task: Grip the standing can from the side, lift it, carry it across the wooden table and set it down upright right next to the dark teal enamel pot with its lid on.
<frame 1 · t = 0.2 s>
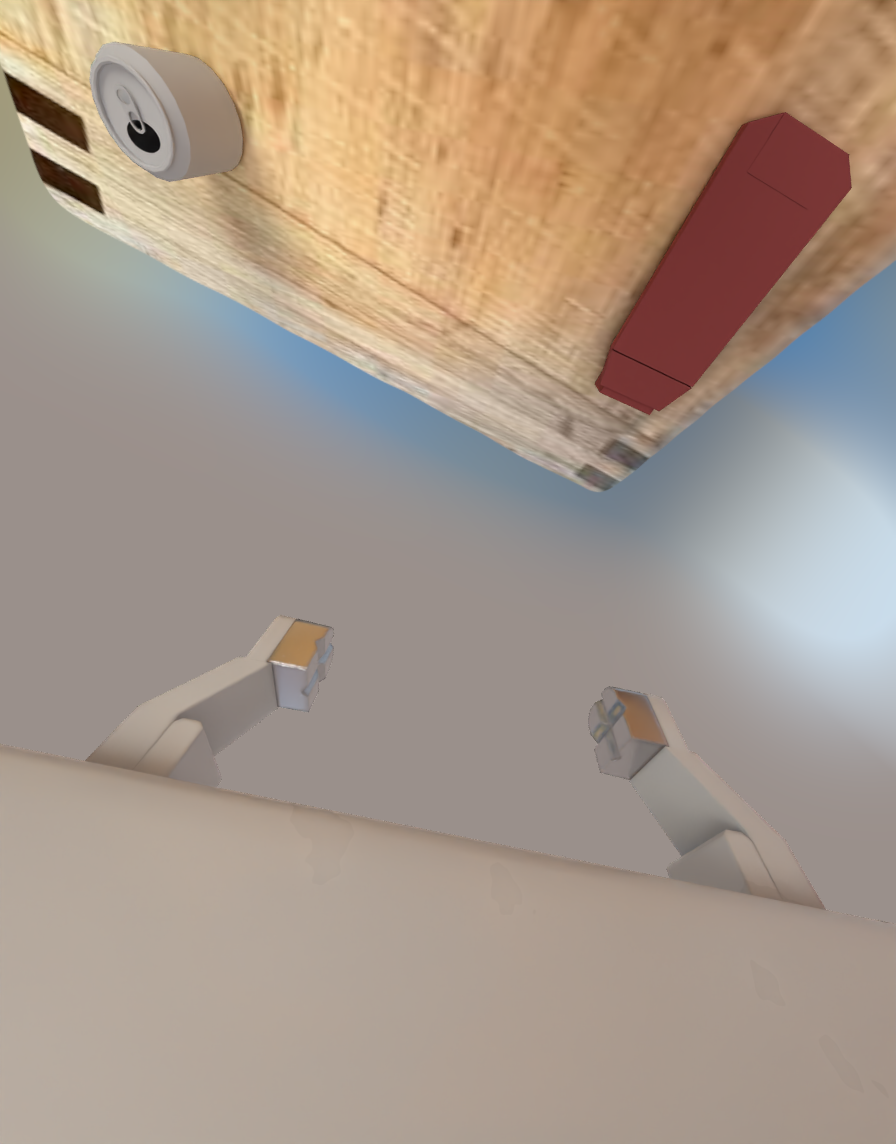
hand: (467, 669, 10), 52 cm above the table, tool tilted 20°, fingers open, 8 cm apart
dark red sloped ramp: (691, 293, 42), on the table
can: (211, 117, 37), on the table
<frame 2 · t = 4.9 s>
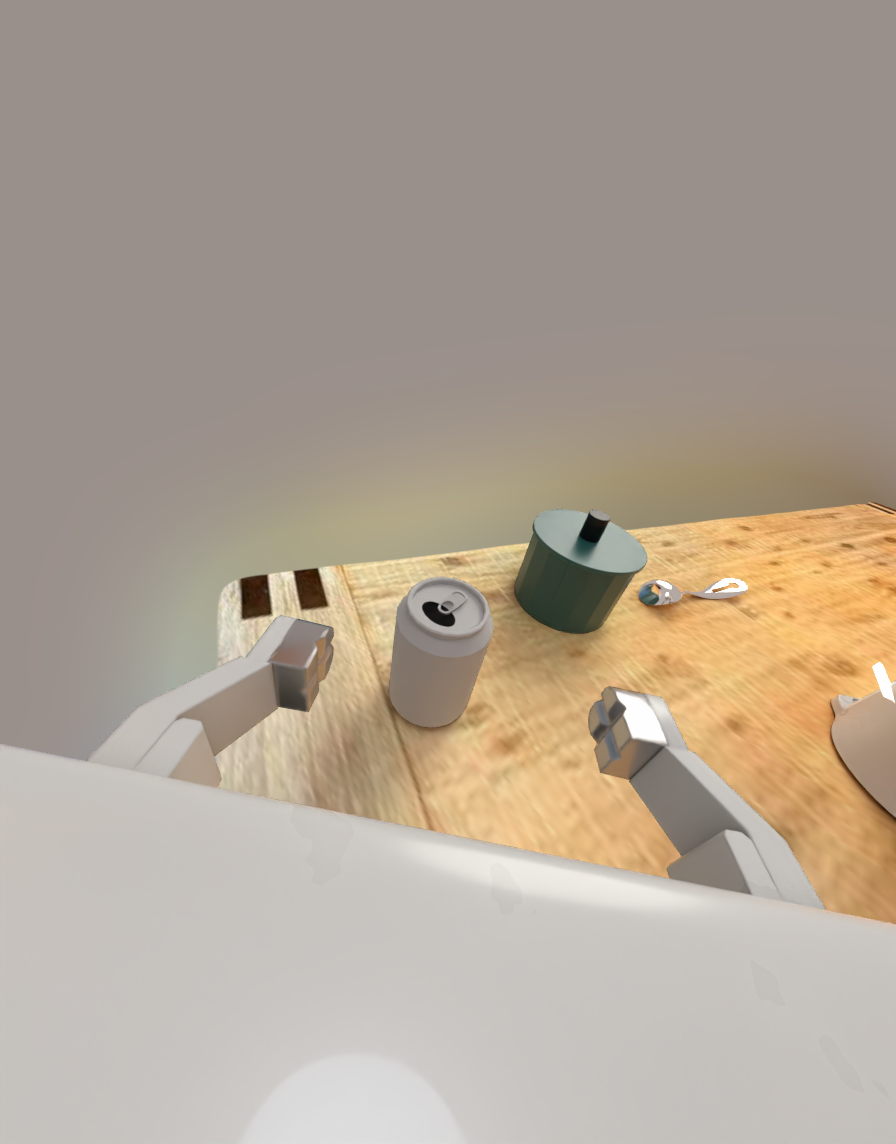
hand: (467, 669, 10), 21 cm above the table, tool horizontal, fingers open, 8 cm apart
silver spoon: (690, 597, 54), on the table
can: (427, 695, 33), on the table
pot: (559, 598, 48), on the table
pot lid: (587, 540, 42), point 9 cm above the table, touching pot
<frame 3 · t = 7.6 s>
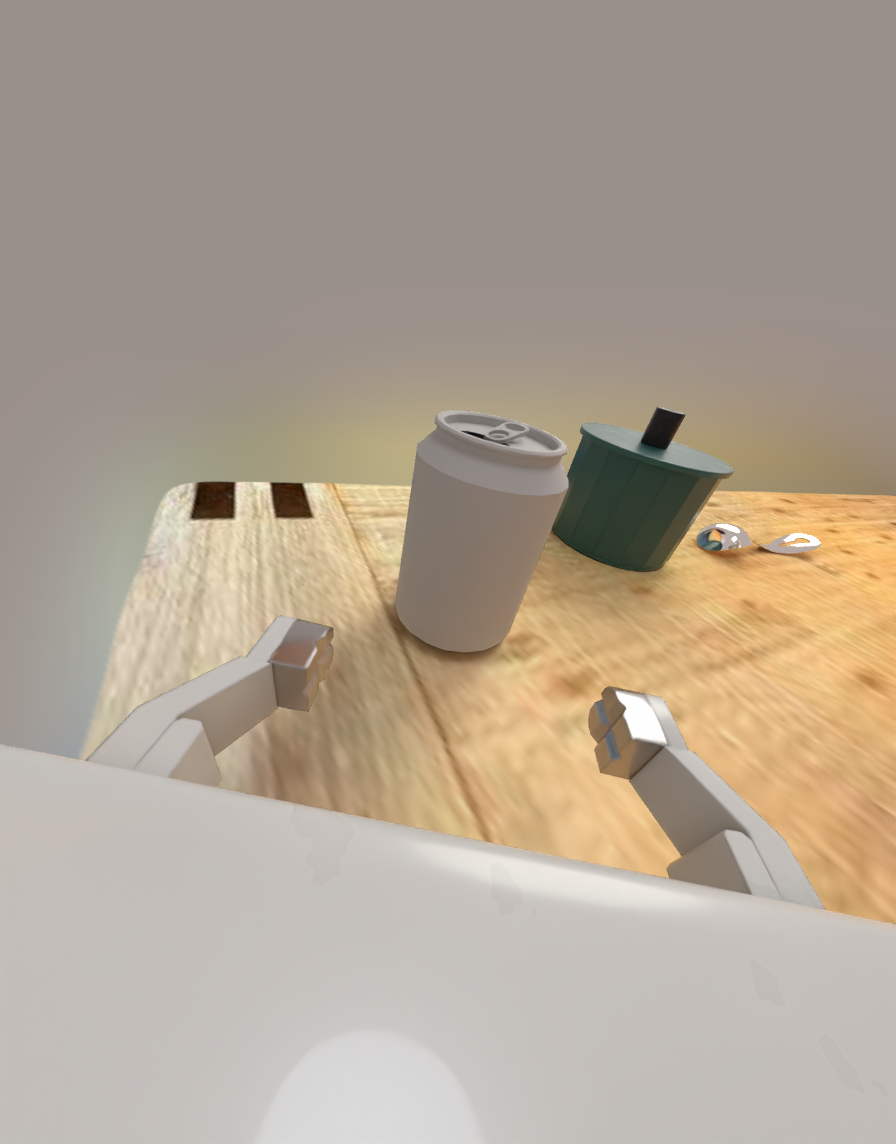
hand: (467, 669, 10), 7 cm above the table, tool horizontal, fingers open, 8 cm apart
silver spoon: (755, 550, 44), on the table
can: (450, 619, 23), on the table
pot: (605, 537, 38), on the table
pot lid: (650, 450, 33), point 9 cm above the table, touching pot
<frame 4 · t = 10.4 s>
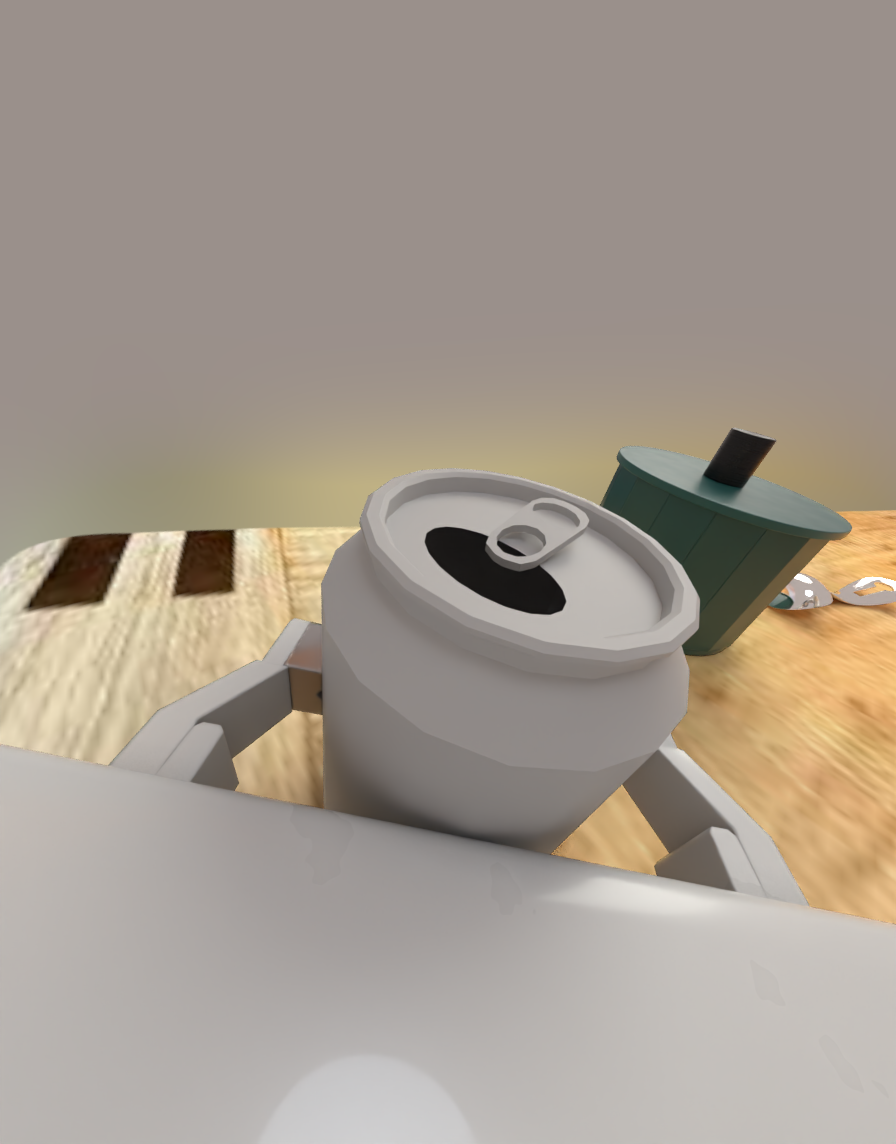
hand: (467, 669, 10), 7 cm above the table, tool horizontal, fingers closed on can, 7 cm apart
silver spoon: (826, 601, 35), on the table
can: (426, 801, 13), on the table, touching gripper
pot: (645, 596, 29), on the table
pot lid: (717, 487, 23), point 9 cm above the table, touching pot
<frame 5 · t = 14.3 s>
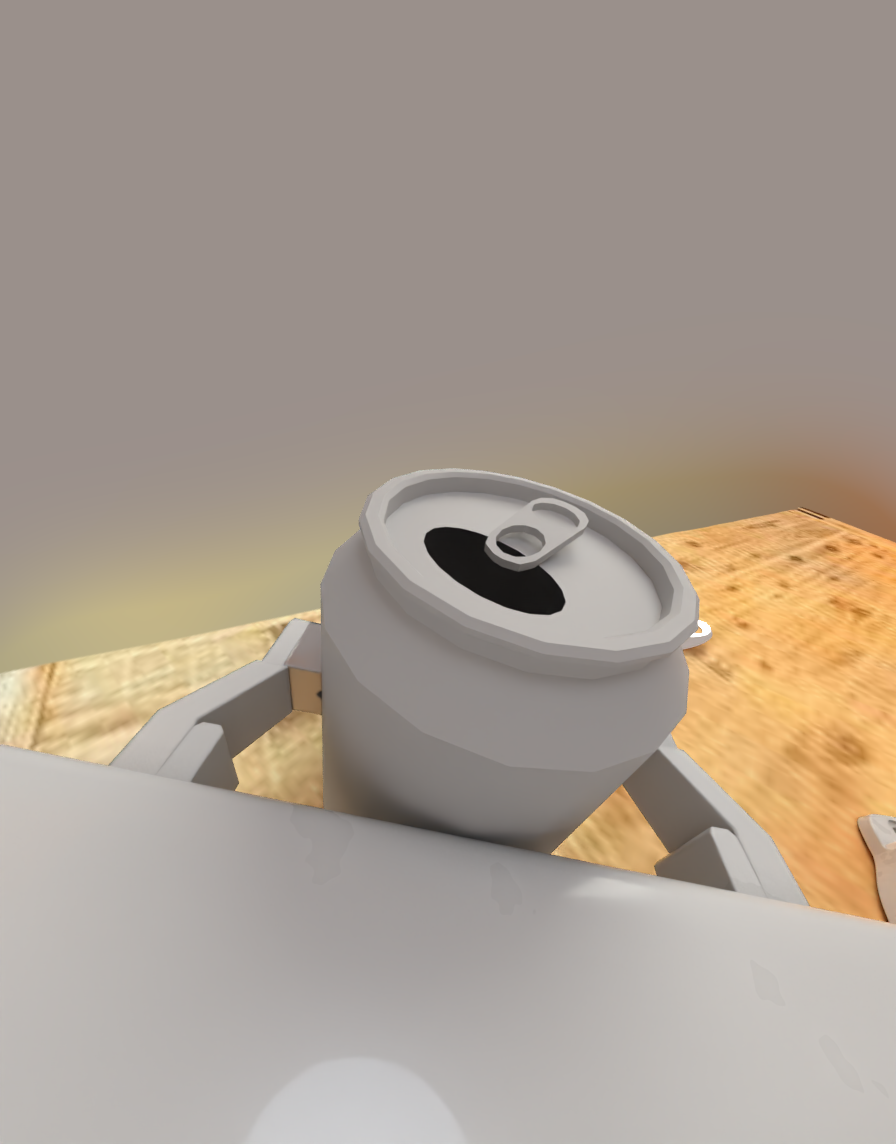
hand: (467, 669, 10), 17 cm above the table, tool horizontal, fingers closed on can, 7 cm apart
silver spoon: (643, 650, 39), on the table
can: (426, 802, 13), point 10 cm above the table, touching gripper
when the fingers open (7 cm above the table, at t = 18.4 s): can stays where it is, on the table.
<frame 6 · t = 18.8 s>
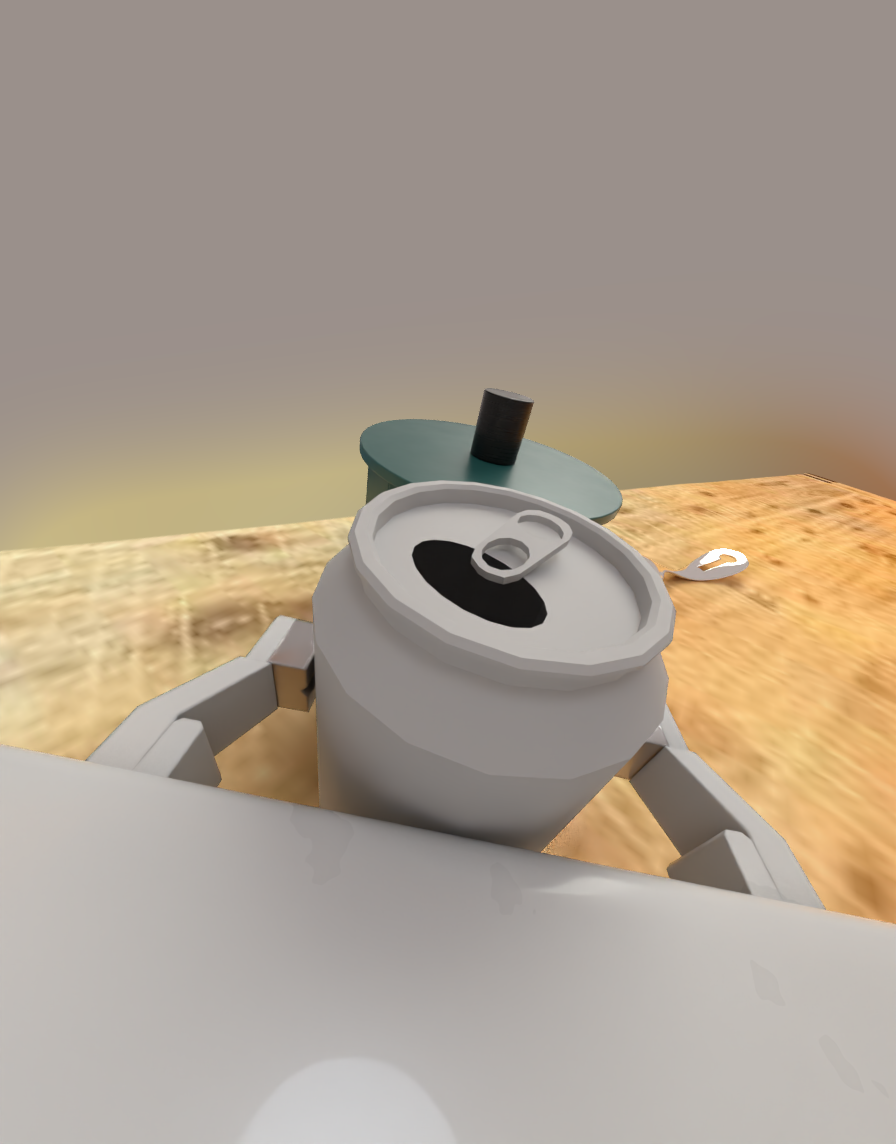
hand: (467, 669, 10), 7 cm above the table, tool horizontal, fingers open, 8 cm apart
silver spoon: (670, 579, 33), on the table
can: (421, 804, 14), on the table
pot: (453, 602, 24), on the table
pot lid: (490, 466, 18), point 9 cm above the table, touching pot
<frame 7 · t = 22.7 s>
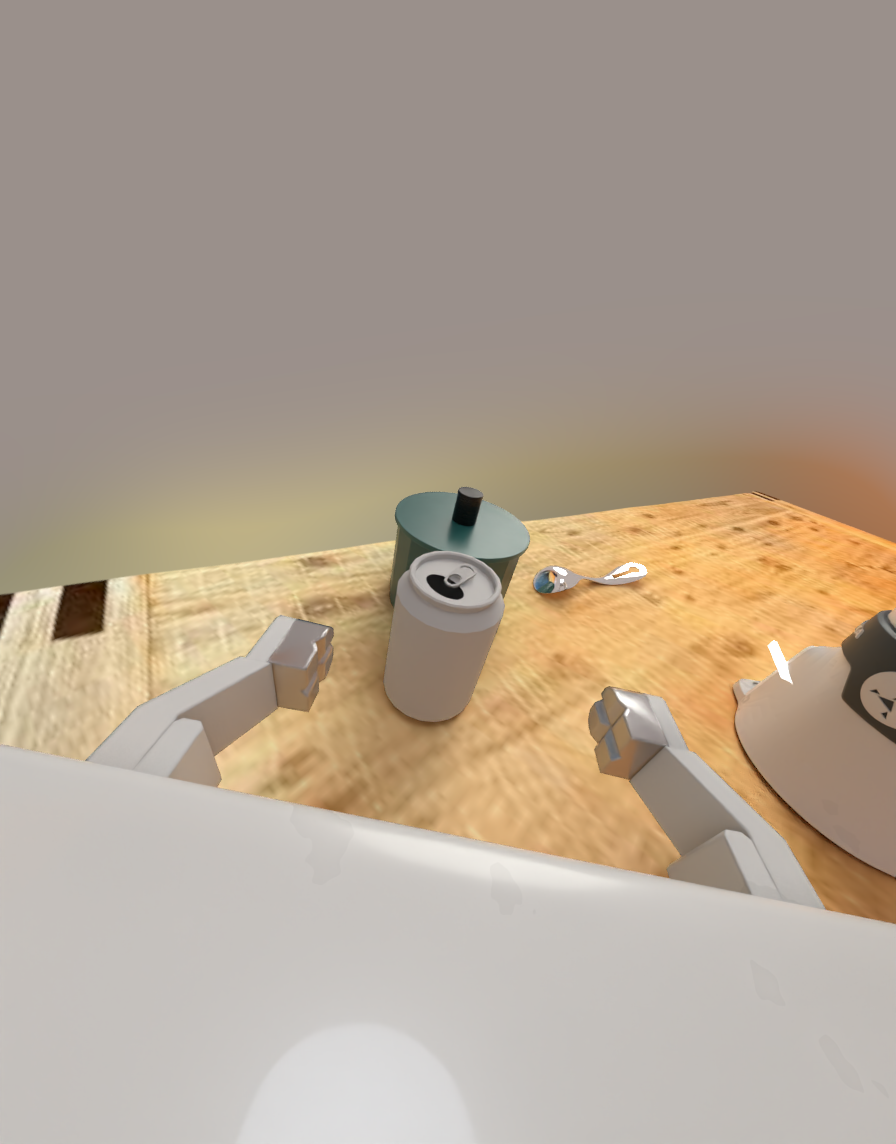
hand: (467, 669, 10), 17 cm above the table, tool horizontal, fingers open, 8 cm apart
silver spoon: (590, 584, 50), on the table
can: (426, 688, 30), on the table
pot: (444, 598, 40), on the table
pot lid: (462, 525, 35), point 9 cm above the table, touching pot
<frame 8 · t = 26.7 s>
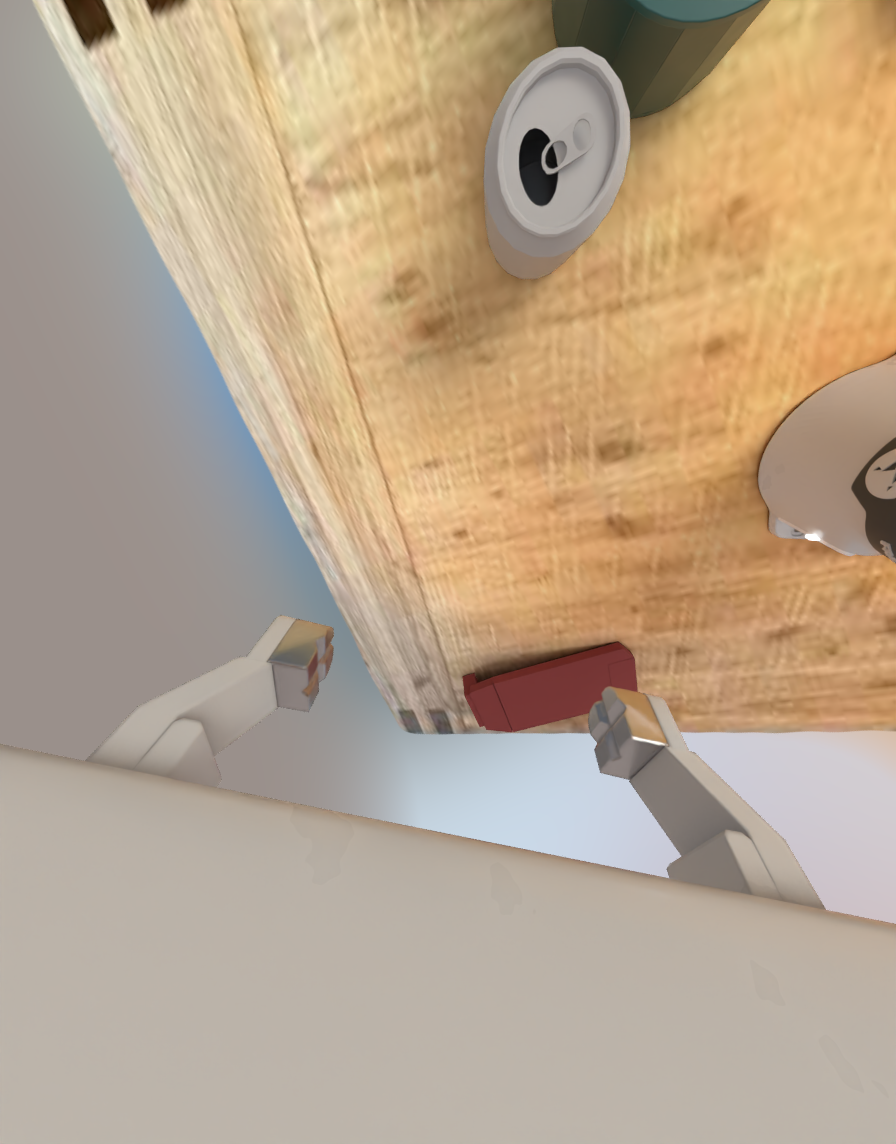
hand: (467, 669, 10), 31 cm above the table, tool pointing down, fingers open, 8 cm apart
dark red sloped ramp: (546, 678, 56), on the table
can: (534, 219, 27), on the table
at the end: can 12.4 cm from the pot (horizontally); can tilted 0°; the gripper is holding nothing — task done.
